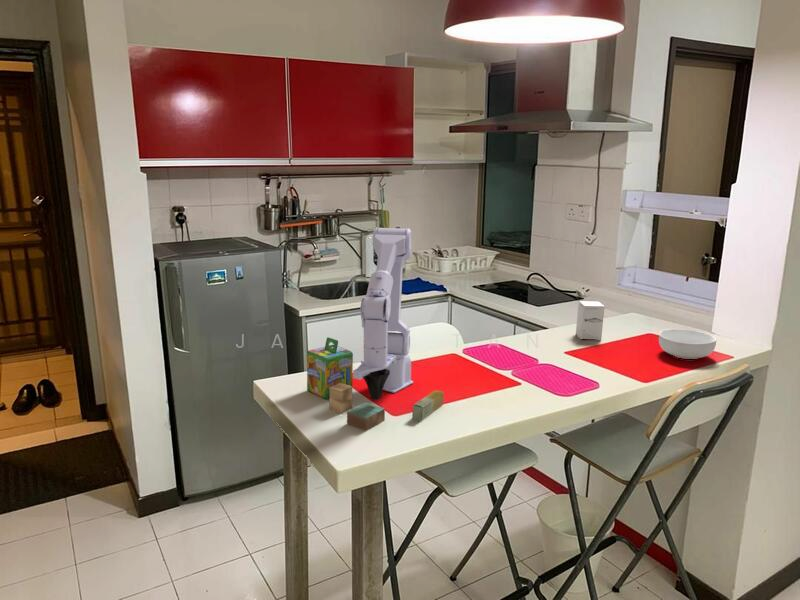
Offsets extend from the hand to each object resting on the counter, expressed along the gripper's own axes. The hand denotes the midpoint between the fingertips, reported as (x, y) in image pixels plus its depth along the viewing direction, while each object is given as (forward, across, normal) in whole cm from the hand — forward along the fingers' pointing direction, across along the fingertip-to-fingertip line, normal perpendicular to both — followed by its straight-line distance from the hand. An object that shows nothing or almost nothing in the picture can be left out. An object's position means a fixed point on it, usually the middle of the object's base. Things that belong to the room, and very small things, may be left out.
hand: (375, 398), depth 147 cm
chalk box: (+5, -6, -20) cm, 21 cm away
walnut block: (+3, 0, 0) cm, 4 cm away
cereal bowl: (+5, -97, +52) cm, 110 cm away
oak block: (+5, +1, -10) cm, 11 cm away
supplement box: (+5, -98, +20) cm, 100 cm away
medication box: (+5, -10, +9) cm, 15 cm away
